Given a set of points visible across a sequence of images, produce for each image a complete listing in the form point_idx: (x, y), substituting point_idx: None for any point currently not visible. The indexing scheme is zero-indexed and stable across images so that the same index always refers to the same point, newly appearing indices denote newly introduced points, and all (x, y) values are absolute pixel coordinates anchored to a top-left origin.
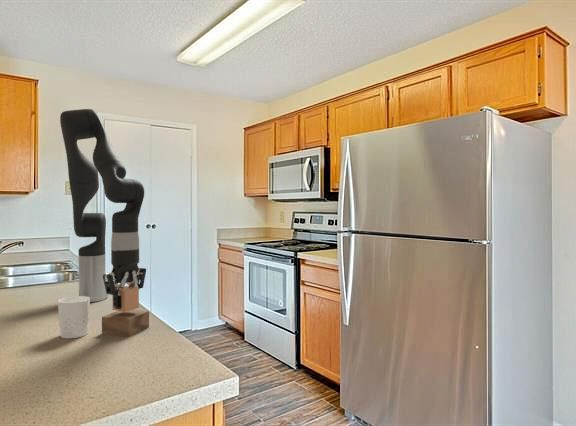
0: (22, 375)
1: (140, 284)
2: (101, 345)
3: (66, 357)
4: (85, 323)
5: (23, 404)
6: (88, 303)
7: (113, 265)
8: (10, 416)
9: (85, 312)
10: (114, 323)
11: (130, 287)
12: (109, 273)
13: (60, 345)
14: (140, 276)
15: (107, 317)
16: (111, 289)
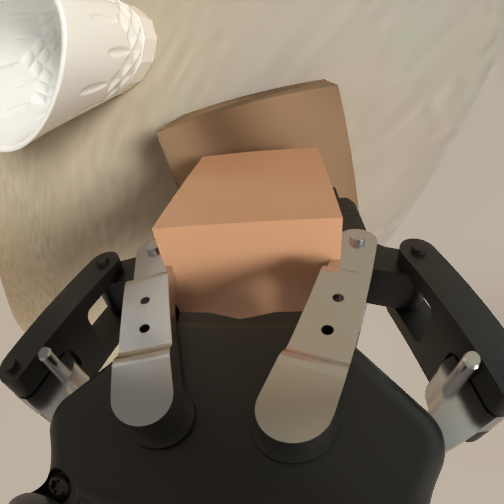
0: (4, 244)
1: (394, 320)
2: (129, 227)
3: (53, 230)
4: (106, 99)
5: (22, 315)
6: (60, 116)
7: (49, 492)
8: (18, 322)
9: (72, 118)
10: None
11: (297, 304)
12: (38, 411)
13: (53, 131)
14: (433, 366)
15: (169, 166)
16: (97, 331)
